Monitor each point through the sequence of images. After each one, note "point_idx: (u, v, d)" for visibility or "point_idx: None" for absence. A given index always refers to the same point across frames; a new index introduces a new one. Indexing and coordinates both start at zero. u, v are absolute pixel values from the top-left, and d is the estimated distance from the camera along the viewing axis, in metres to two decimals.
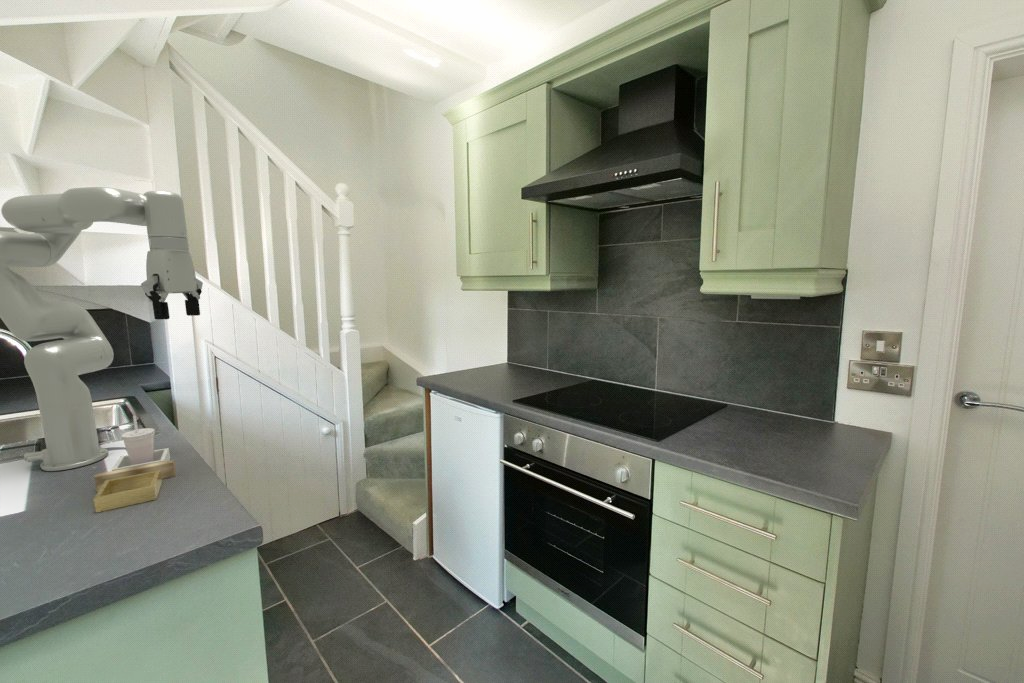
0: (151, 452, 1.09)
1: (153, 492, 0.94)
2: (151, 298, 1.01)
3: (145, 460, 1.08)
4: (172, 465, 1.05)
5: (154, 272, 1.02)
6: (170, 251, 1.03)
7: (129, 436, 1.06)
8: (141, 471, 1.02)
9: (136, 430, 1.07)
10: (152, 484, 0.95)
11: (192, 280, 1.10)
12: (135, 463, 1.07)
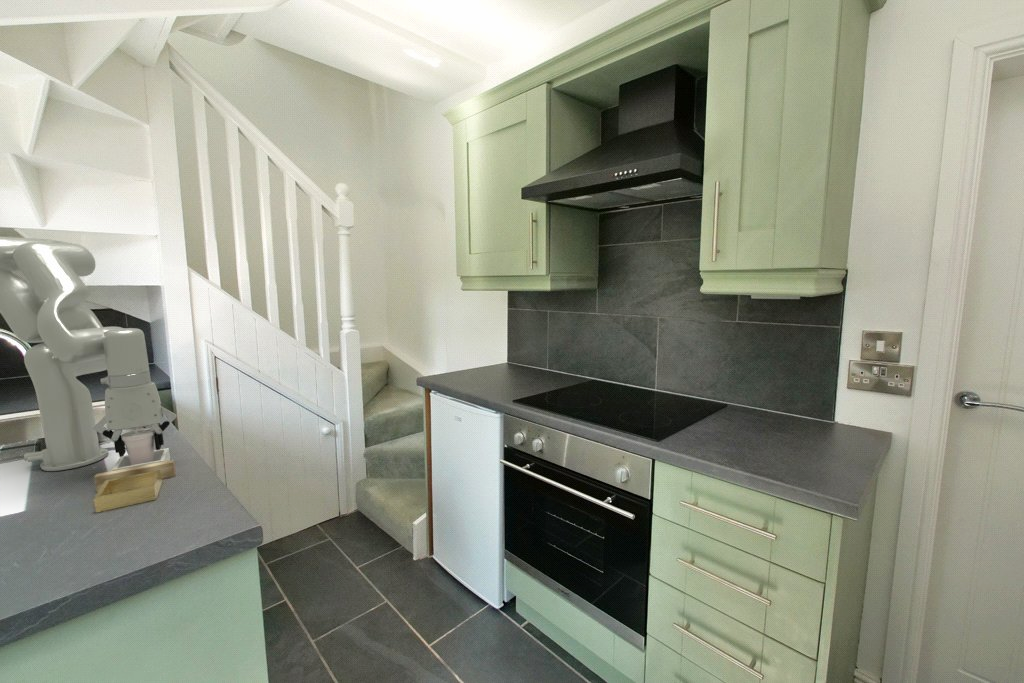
0: (151, 452, 1.09)
1: (153, 492, 0.94)
2: (165, 428, 1.11)
3: (145, 460, 1.08)
4: (172, 465, 1.05)
5: (160, 402, 1.09)
6: None
7: (129, 436, 1.06)
8: (141, 471, 1.02)
9: (136, 430, 1.07)
10: (152, 484, 0.95)
11: None
12: (135, 463, 1.07)
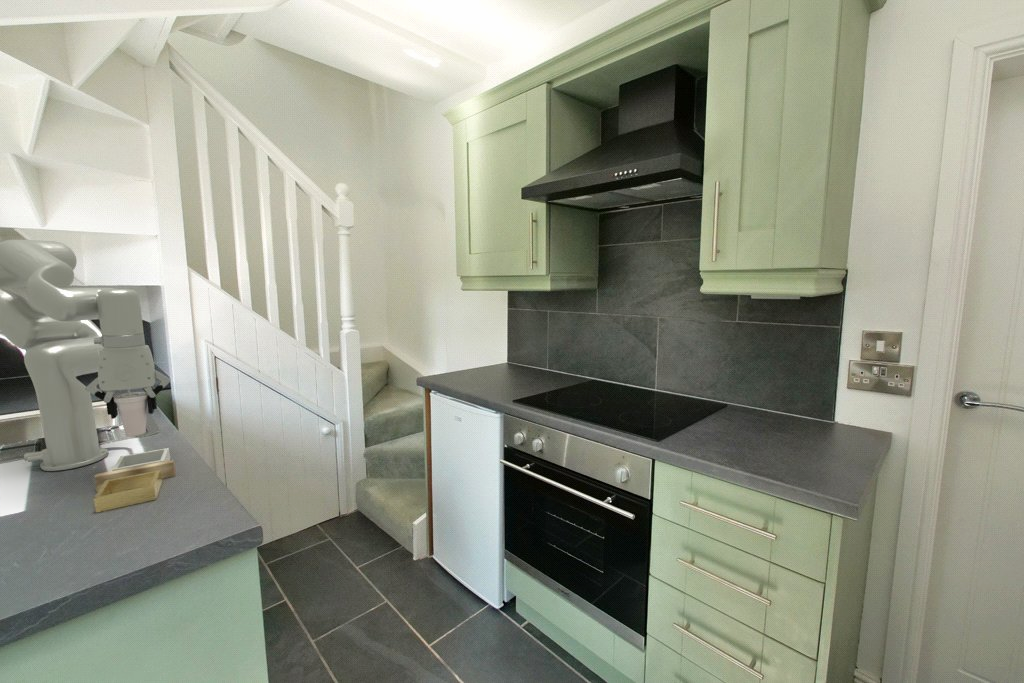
0: (144, 416, 1.08)
1: (153, 492, 0.94)
2: None
3: (137, 423, 1.07)
4: (172, 465, 1.05)
5: (154, 365, 1.08)
6: None
7: (122, 398, 1.04)
8: (141, 471, 1.02)
9: (129, 393, 1.06)
10: (152, 484, 0.95)
11: None
12: (127, 426, 1.06)
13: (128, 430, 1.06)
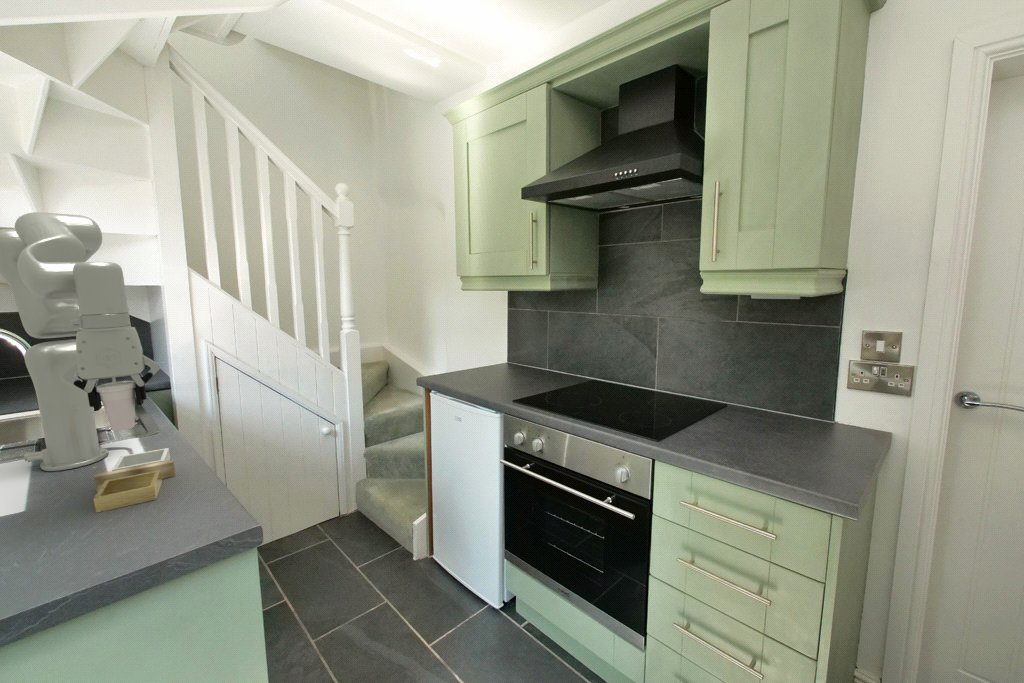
0: (132, 407, 0.95)
1: (153, 492, 0.94)
2: None
3: (124, 416, 0.93)
4: (172, 465, 1.05)
5: (141, 350, 0.95)
6: None
7: (105, 387, 0.91)
8: (141, 471, 1.02)
9: (114, 381, 0.93)
10: (152, 484, 0.95)
11: None
12: (113, 419, 0.92)
13: (114, 423, 0.93)
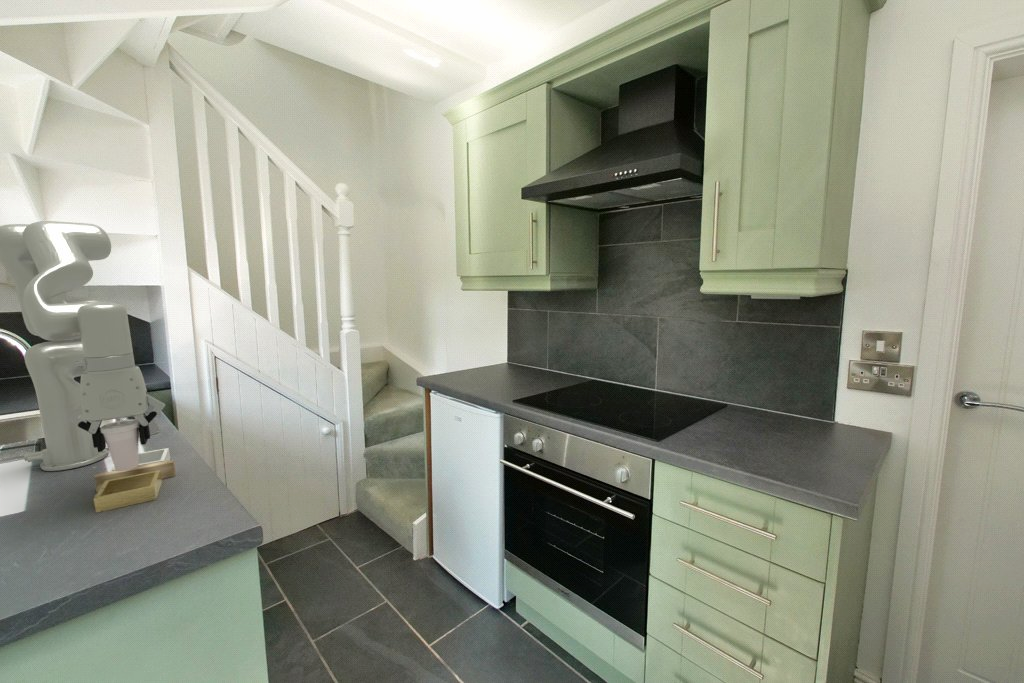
0: (135, 447, 0.95)
1: (153, 492, 0.94)
2: None
3: (128, 456, 0.93)
4: (172, 465, 1.05)
5: (145, 389, 0.95)
6: None
7: (109, 428, 0.91)
8: (141, 471, 1.02)
9: (118, 421, 0.93)
10: (152, 484, 0.95)
11: None
12: (117, 459, 0.92)
13: (117, 464, 0.93)
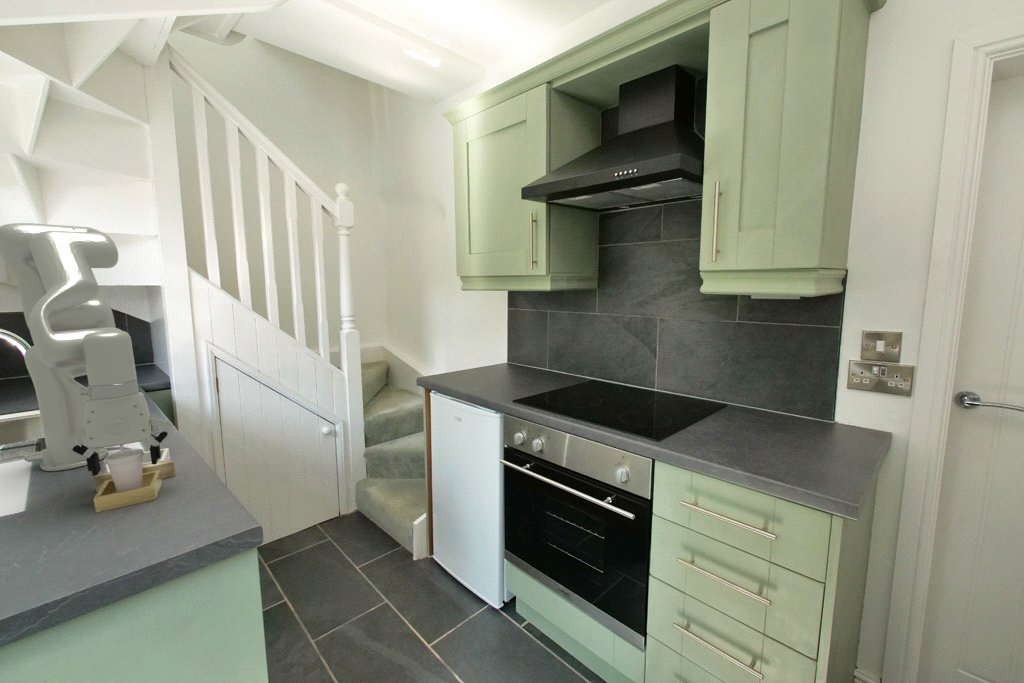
0: (139, 476, 0.96)
1: (153, 492, 0.94)
2: None
3: (132, 486, 0.95)
4: (172, 465, 1.05)
5: (149, 415, 0.96)
6: None
7: (114, 459, 0.92)
8: None
9: (122, 451, 0.94)
10: (152, 484, 0.95)
11: None
12: (121, 489, 0.94)
13: None
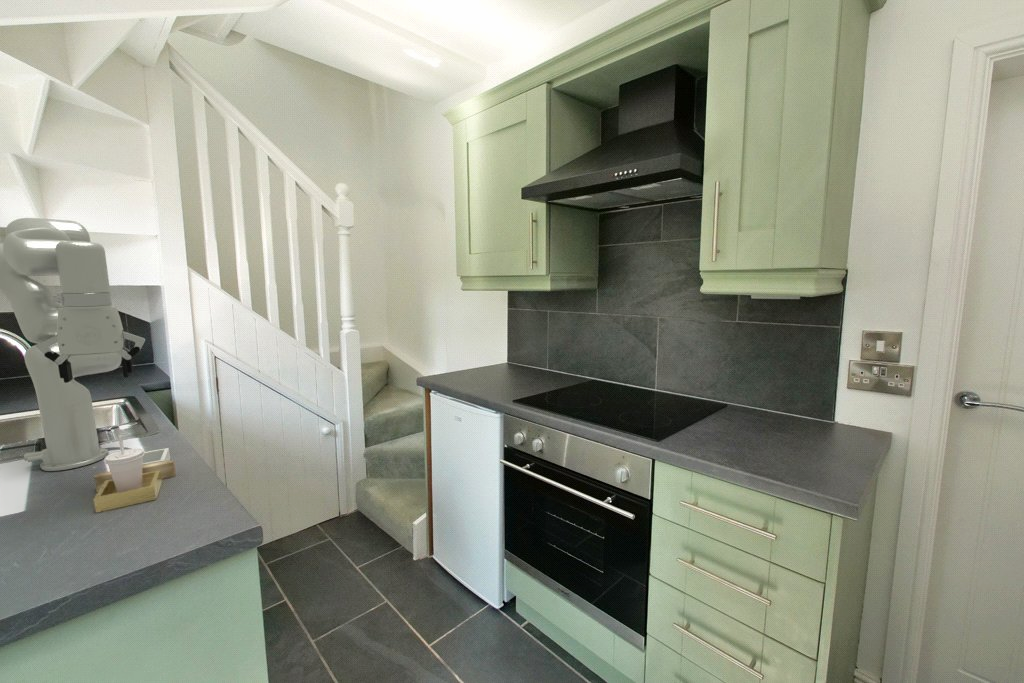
0: (139, 476, 0.96)
1: (153, 492, 0.94)
2: None
3: (132, 486, 0.95)
4: (172, 465, 1.05)
5: (122, 329, 0.98)
6: None
7: (114, 459, 0.92)
8: None
9: (122, 451, 0.94)
10: (152, 484, 0.95)
11: None
12: (121, 489, 0.94)
13: None
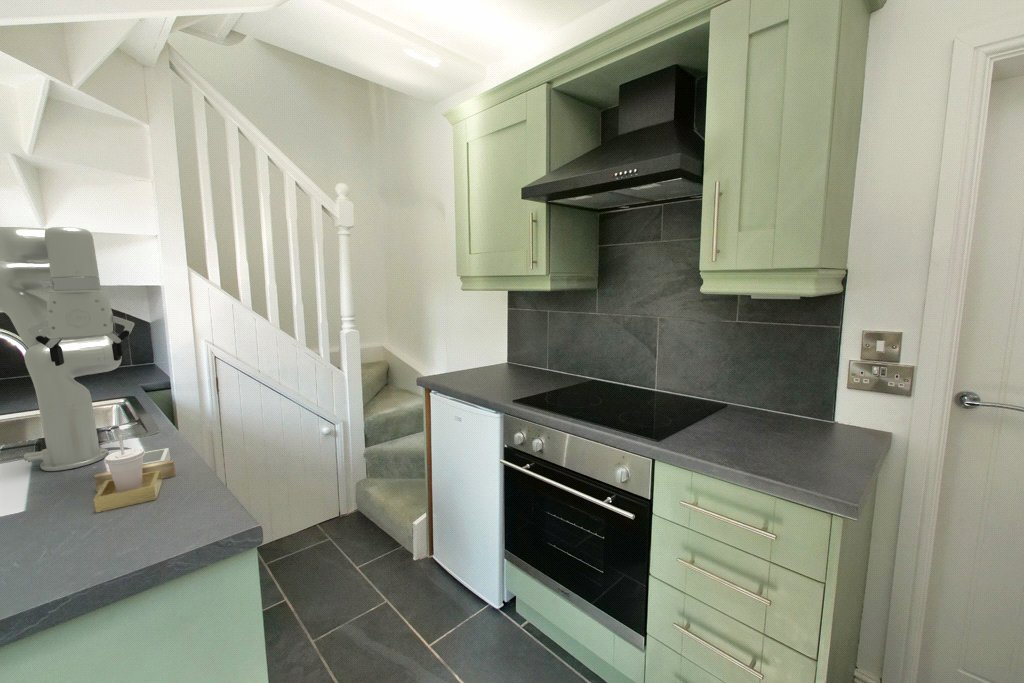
0: (139, 476, 0.96)
1: (153, 492, 0.94)
2: (125, 337, 1.02)
3: (132, 486, 0.95)
4: (172, 465, 1.05)
5: (111, 313, 1.00)
6: None
7: (114, 459, 0.92)
8: None
9: (122, 451, 0.94)
10: (152, 484, 0.95)
11: None
12: (121, 489, 0.94)
13: None
